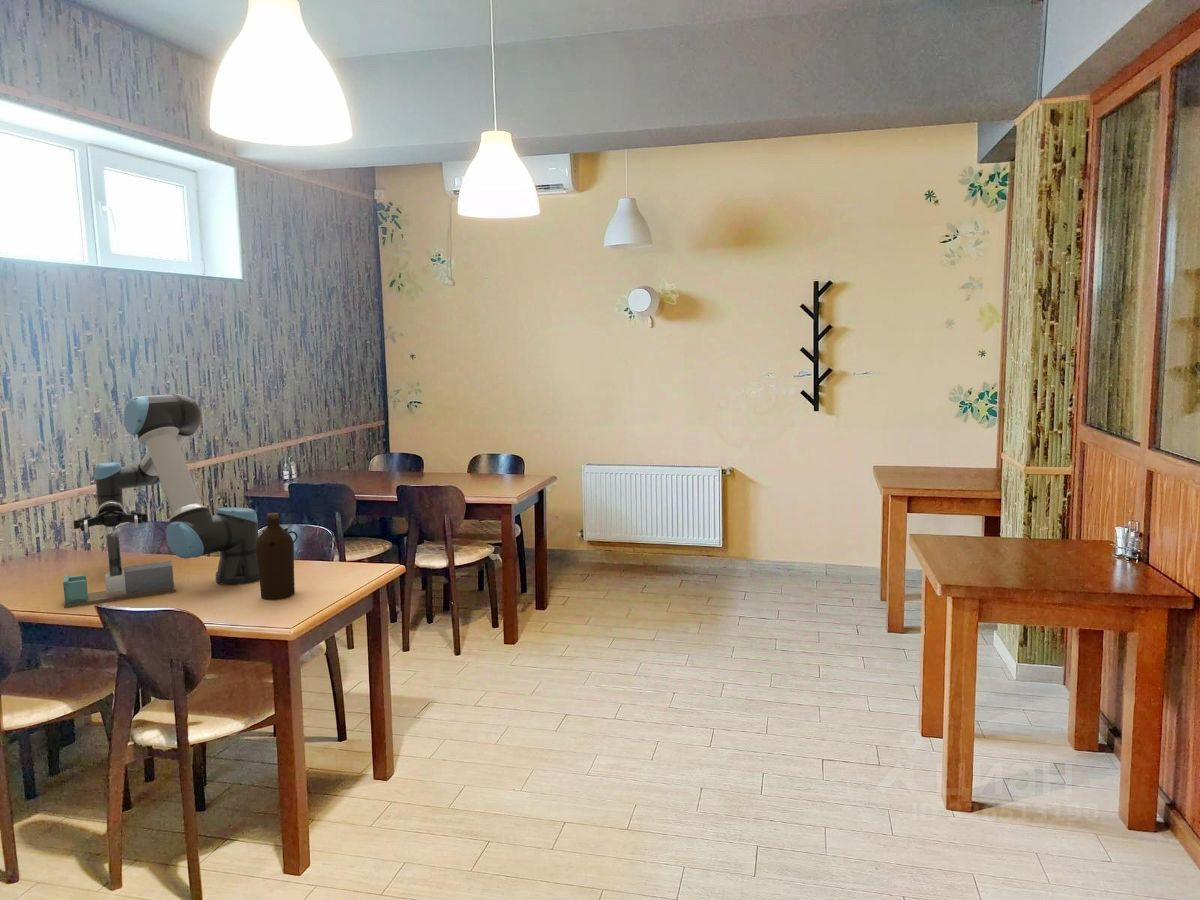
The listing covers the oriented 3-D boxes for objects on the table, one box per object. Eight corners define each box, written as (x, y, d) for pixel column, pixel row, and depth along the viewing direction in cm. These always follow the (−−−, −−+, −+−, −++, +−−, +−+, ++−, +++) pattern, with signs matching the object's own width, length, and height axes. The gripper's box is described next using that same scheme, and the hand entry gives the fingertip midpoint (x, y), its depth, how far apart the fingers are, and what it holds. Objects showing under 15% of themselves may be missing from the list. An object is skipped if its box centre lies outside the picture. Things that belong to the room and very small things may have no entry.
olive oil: (302, 595, 251) (297, 513, 248) (267, 603, 243) (261, 518, 240) (288, 588, 258) (283, 508, 255) (253, 595, 251) (247, 513, 248)
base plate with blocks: (173, 584, 265) (171, 559, 264) (176, 592, 256) (174, 566, 255) (65, 599, 250) (62, 573, 249) (64, 608, 242) (61, 581, 241)
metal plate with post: (165, 580, 261) (161, 527, 259) (166, 584, 257) (162, 530, 255) (106, 589, 253) (101, 534, 251) (106, 592, 249) (101, 537, 247)
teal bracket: (87, 594, 252) (85, 573, 251) (87, 600, 246) (85, 578, 245) (66, 597, 249) (64, 576, 248) (65, 603, 243) (63, 581, 242)
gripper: (154, 520, 284) (157, 533, 266) (67, 529, 271) (64, 542, 253) (152, 499, 283) (156, 509, 265) (65, 506, 270) (62, 518, 252)
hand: (111, 526), depth 259 cm, fingers open, 13 cm apart
